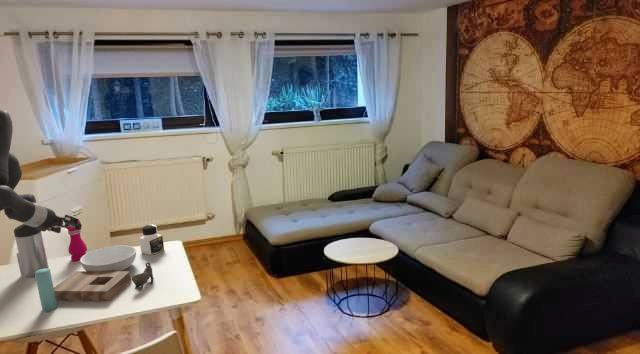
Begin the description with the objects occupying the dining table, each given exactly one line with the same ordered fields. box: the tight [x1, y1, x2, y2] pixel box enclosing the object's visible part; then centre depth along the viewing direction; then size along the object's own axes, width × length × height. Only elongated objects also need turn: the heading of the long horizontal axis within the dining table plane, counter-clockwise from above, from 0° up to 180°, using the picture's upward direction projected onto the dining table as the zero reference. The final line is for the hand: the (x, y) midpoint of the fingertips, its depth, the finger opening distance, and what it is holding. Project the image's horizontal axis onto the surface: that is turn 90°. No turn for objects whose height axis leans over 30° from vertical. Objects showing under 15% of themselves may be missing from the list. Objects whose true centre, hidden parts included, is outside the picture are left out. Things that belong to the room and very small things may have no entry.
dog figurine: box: [131, 261, 155, 291], centre depth 177 cm, size 12×6×7 cm, turn 171°
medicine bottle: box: [138, 224, 165, 256], centre depth 210 cm, size 7×7×12 cm
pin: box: [34, 268, 59, 313], centre depth 163 cm, size 5×5×14 cm
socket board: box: [53, 270, 132, 303], centre depth 176 cm, size 22×16×4 cm
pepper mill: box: [65, 214, 88, 263], centre depth 205 cm, size 7×7×20 cm
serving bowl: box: [79, 244, 137, 271], centre depth 193 cm, size 21×21×7 cm
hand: (70, 228), depth 173 cm, fingers open, 8 cm apart
